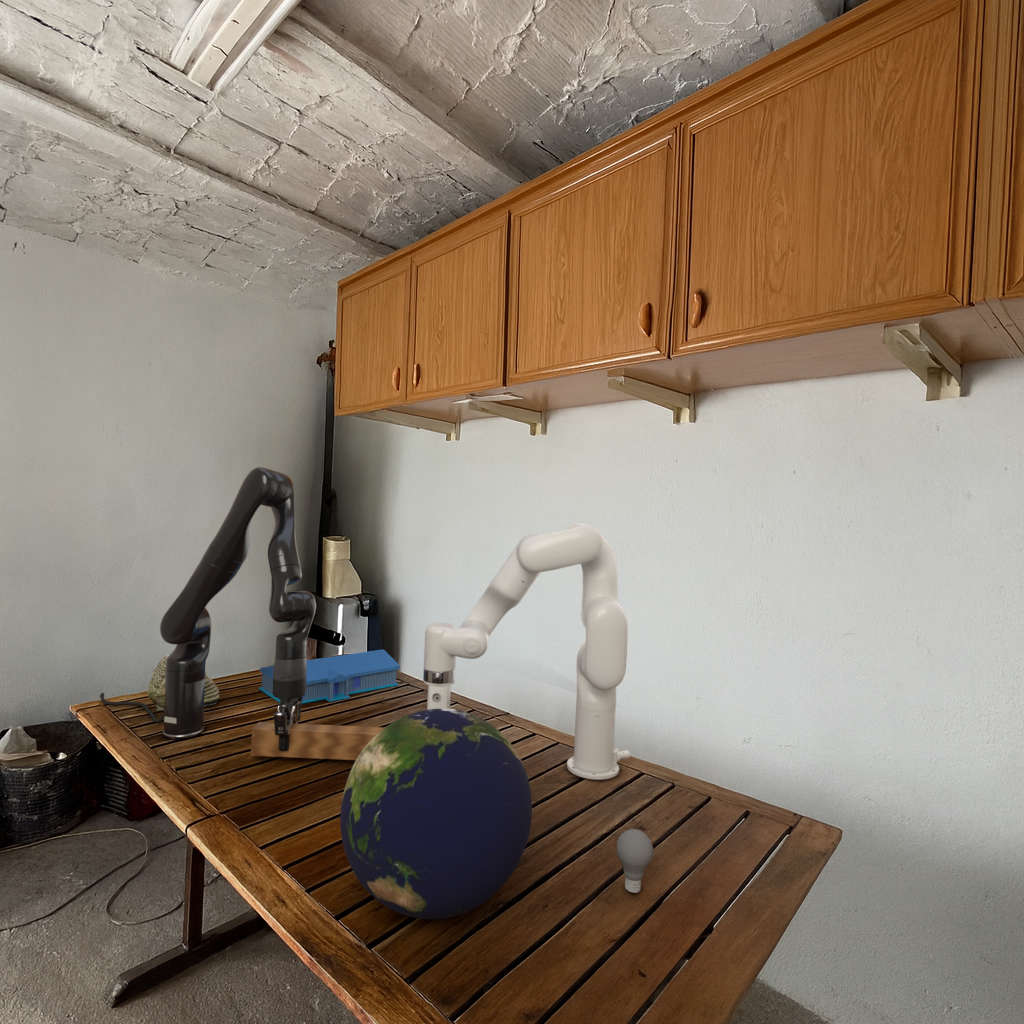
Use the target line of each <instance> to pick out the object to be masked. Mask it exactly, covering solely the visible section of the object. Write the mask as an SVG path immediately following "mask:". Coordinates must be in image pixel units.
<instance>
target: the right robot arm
mask: <svg viewBox="0 0 1024 1024" xmlns="http://www.w3.org/2000/svg"><path fill="white" fill-rule="evenodd" d="M576 565H580V567H581V571H582V596H581V597H582V598H581V611H580V619H581V620H580V621H581V623H582V625H583V627H584V629H585V641H584V642H583V643H582V644H581V645H580V647H579V649H578V651H577V654H576V702H575V721H574V722H575V723H574V745H573V756H571V757H569V758H568V759H567V761H566V768H567V770H568V772H570V773H571V774H573V775H574V776H577V777H580V778H582V779H587V780H593V781H594V780H595V781H604V780H610V779H613V778H615V777H616V776H618V775H619V774H620V766H619V764H618V762H619V761H621V760H627V759H630V758H631V753H630V751H629V750H628V749H627V750H620V749H619V748H615V732H616V731H615V730H616V729H615V728H616V709H617V687H618V686H619V685H620V684H622V682H623V680H624V678H625V675H626V672H627V661H628V659H627V658H628V638H629V637H628V636H629V635H628V633H629V625H628V618H627V614H626V612H625V610H624V609H623V608H622V606H621V605H620V604H619V568H618V561H617V558H616V555H615V553H614V550H613V549H612V546H611V545H610V543H609V542H608V541H607V539H606V538H605V537H604V536H603V535H602V534H601V532H600V531H599V530H598V529H597V528H596V527H594V526H593V525H591V524H587V523H583V522H576V523H573V524H571V525H569V526H568V527H566V528H565V529H563V530H557V531H553V532H549V533H543V534H538V533H529V534H527V535H524V536H523V537H522V538H521V539H520V540H519V541H518V542H517V544H516V546H515V547H514V548H513V550H512V551H511V552H510V553H509V555H508V556H507V558H506V560H505V561H504V563H503V564H502V565H501V567H500V568H499V570H498V571H497V573H496V574H495V575H494V577H493V579H491V581H490V582H489V584H488V585H487V587H486V588H485V591H484V592H483V594H482V595H481V597H479V599H478V600H477V602H476V603H475V605H474V606H473V607H472V609H471V610H470V612H469V613H468V615H467V616H466V617H465V619H464V621H462V623H461V625H460V627H456V626H455V625H454V624H452V623H447V622H433V623H430V624H428V625H427V626H425V627H426V628H425V631H424V648H423V650H424V651H423V675H422V677H423V679H422V683H423V684H425V685H427V696H426V697H427V698H426V699H427V700H426V710H428V709H443V708H449V709H451V697H452V696H451V689H452V688H451V687H452V685H453V684H455V682H456V661H457V660H456V658H457V657H458V658H462V659H469V660H474V659H479V658H481V657H482V656H483V655H485V654H486V652H487V650H488V646H489V638H490V636H491V635H492V633H493V632H494V630H495V629H496V628H497V626H498V625H499V623H500V622H501V620H502V619H503V618H504V616H505V615H506V614H507V613H508V612H509V611H511V610H512V609H514V608H515V607H517V606H518V605H519V604H520V603H521V602H522V600H523V599H524V598H525V596H526V594H527V593H528V591H529V590H530V589H531V587H532V586H533V584H534V583H535V581H536V580H537V578H538V577H539V576H540V574H541V573H545V572H549V571H555V570H560V569H565V568H568V567H573V566H576Z"/></svg>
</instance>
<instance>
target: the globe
mask: <svg viewBox="0 0 1024 1024" xmlns="http://www.w3.org/2000/svg"><path fill="white" fill-rule="evenodd" d="M383 728H384V729H383V730H381V731H380V732H379V733H378V734H377V735H376V736H375V737H374V738H373V739H372V740H371V741H370V742H369V743H368V744H367V745H366V746H365V748H364V749H363V750H362V752H361V753H360V755H359V756H358V758H357V759H356V760H354V762H353V765H352V767H351V769H350V772H349V774H348V776H347V779H346V782H345V785H344V788H343V791H342V797H341V804H340V813H339V814H340V815H339V816H340V817H339V819H340V820H339V821H340V822H339V824H340V835H341V841H342V845H343V850H344V853H345V856H346V858H347V862H348V864H349V866H350V868H351V870H352V873H354V876H355V877H356V878H357V880H358V882H359V884H361V886H362V887H363V888H364V890H366V891H367V892H368V893H369V895H370V896H372V897H373V899H375V900H376V901H377V902H379V903H380V904H381V905H382V906H384V907H386V908H388V909H389V910H391V911H393V912H395V913H398V914H400V915H402V916H405V917H408V918H409V917H410V918H412V919H413V918H414V919H419V920H443V919H449V918H454V917H457V916H460V915H463V914H465V913H468V912H470V911H472V910H475V909H476V908H478V907H480V906H481V905H482V904H484V903H486V902H487V901H488V900H490V899H491V898H492V897H493V896H495V894H496V893H498V892H499V891H500V890H501V889H502V888H503V887H504V885H505V884H506V883H507V882H508V880H509V879H510V878H511V877H512V875H513V874H514V872H515V871H516V869H517V868H518V866H519V863H520V862H521V860H522V857H523V855H524V853H525V851H526V847H527V844H528V841H529V839H530V838H529V837H530V832H531V826H532V818H533V798H532V791H531V786H530V780H529V777H528V773H527V771H526V768H525V765H524V763H523V760H522V758H521V756H520V754H519V753H518V751H517V750H516V748H515V746H513V745H512V743H511V742H510V740H509V739H508V738H507V737H506V736H505V735H504V734H503V732H501V731H500V730H499V729H498V728H497V727H495V726H494V725H493V724H491V723H489V722H488V721H486V720H485V719H483V718H482V717H479V716H477V715H475V714H473V713H470V712H467V711H463V710H458V709H455V708H450V709H449V708H443V709H428V710H427V709H424V710H419V711H415V712H412V713H409V714H406V715H404V716H402V717H399V718H398V719H396V720H394V721H393V722H391V723H390V724H388V725H387V726H385V727H383Z"/></svg>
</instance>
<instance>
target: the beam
mask: <svg viewBox="0 0 1024 1024" xmlns="http://www.w3.org/2000/svg"><path fill="white" fill-rule="evenodd" d="M384 728H385V727H380V726H378V727H377V726H356V725H335V724H315V723H313V724H311V723H298V724H292V725H291V726H290V734H289V749H288V750H287V751H279V735H275V725H274V722H271V721H270V722H268V721H265V722H264V721H259V722H258V723H256V724H255V725H254V726H253V727H252V728H251V742H250V743H251V744H250V756H251V757H272V758H273V757H275V758H294V759H295V758H297V759H318V760H319V759H321V760H340V761H341V760H346V761H356V759H357V758H358V756H359V755H360V753H361V752H362V750H363V749H364V748H365V746H366V745H367V744H368V743H369V742H370V741H371V740H372V739H373V738H374V737H375V736H376V735H377V734H378V733H379V732H380V731H381V730H383V729H384ZM282 730H283V727H282Z"/></svg>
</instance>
